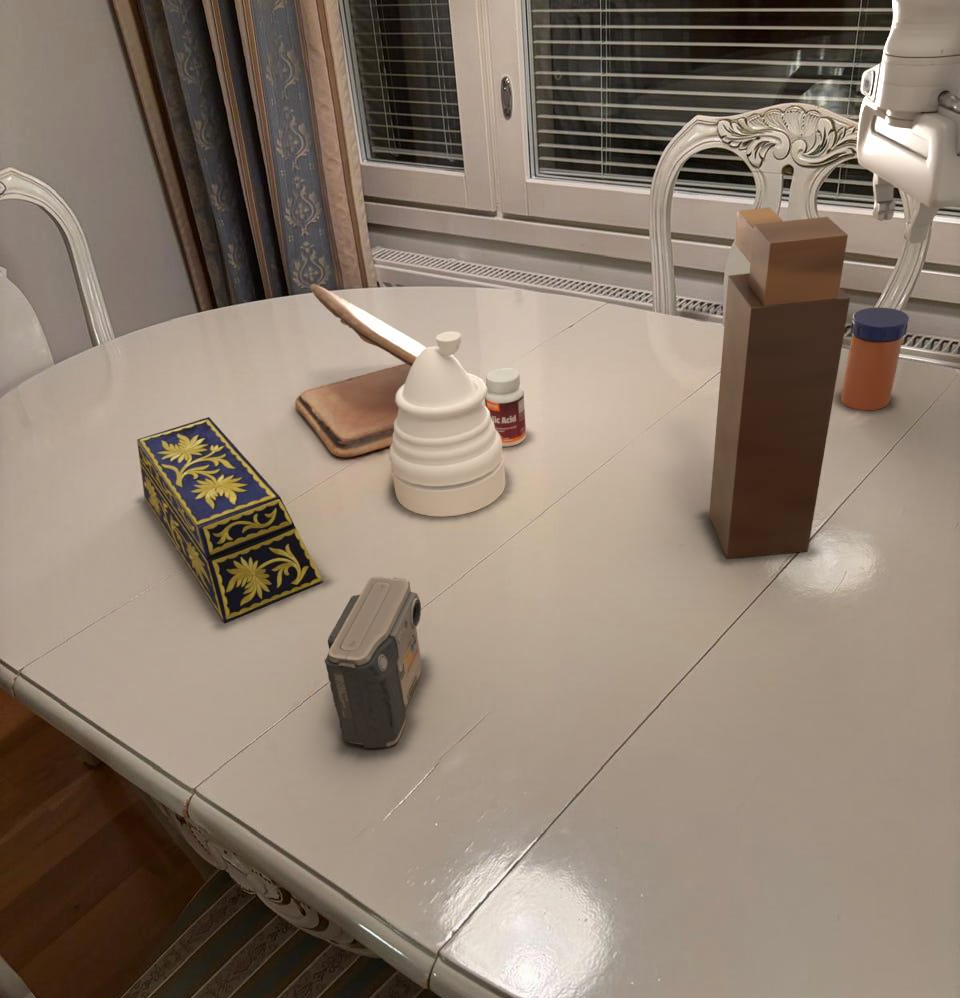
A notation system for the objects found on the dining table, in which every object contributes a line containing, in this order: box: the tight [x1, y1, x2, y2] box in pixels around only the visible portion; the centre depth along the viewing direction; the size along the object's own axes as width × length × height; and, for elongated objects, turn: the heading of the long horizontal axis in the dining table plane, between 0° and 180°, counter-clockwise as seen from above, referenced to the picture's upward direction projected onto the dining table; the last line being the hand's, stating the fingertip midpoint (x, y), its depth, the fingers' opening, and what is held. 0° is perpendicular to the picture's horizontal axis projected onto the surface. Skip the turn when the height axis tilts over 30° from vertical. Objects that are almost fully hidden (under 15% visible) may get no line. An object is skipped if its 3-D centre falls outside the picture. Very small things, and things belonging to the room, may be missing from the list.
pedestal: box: [708, 272, 851, 560], centre depth 85 cm, size 8×8×25 cm
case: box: [294, 283, 427, 458], centre depth 118 cm, size 20×21×16 cm
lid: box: [850, 306, 910, 341], centre depth 107 cm, size 6×6×2 cm
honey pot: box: [389, 330, 507, 518], centre depth 100 cm, size 13×13×18 cm
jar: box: [840, 333, 904, 411], centre depth 110 cm, size 6×6×10 cm
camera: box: [324, 576, 423, 749], centre depth 76 cm, size 11×6×10 cm, turn 164°
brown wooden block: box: [734, 207, 849, 306], centre depth 79 cm, size 16×6×5 cm, turn 2°
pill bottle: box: [484, 367, 527, 447], centre depth 111 cm, size 5×5×8 cm
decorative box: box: [136, 416, 324, 624], centre depth 99 cm, size 11×30×9 cm, turn 31°
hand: (897, 229), depth 100 cm, fingers open, 7 cm apart
